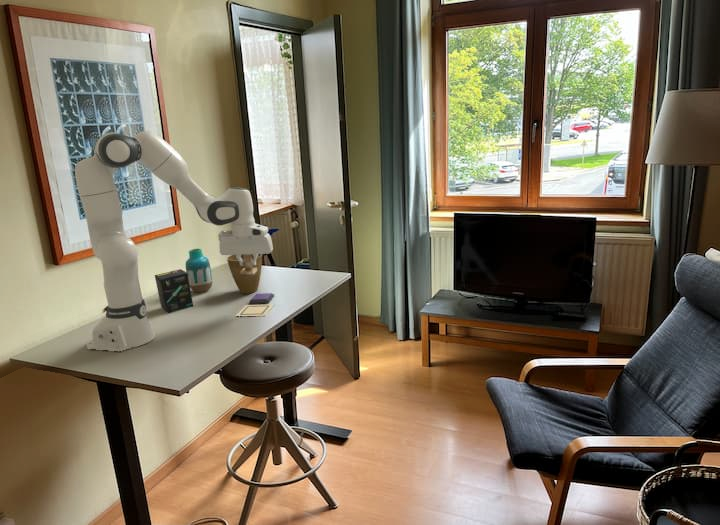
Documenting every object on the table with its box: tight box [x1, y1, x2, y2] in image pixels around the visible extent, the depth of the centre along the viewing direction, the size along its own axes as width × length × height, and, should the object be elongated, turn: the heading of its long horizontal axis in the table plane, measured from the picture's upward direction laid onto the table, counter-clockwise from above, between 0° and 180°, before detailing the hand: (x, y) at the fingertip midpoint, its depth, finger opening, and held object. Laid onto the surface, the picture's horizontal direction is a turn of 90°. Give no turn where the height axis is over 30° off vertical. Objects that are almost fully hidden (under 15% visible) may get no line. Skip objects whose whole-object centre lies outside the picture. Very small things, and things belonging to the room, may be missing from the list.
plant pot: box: [226, 254, 263, 294], centre depth 228 cm, size 15×15×16 cm
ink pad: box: [249, 292, 275, 305], centre depth 216 cm, size 8×8×2 cm
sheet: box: [235, 303, 275, 318], centre depth 205 cm, size 12×12×1 cm
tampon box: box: [154, 268, 194, 314], centre depth 215 cm, size 11×9×15 cm
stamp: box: [240, 254, 258, 276], centre depth 201 cm, size 5×5×9 cm
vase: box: [185, 248, 213, 293], centre depth 233 cm, size 11×11×19 cm
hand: (248, 265), depth 201 cm, fingers closed on stamp, 3 cm apart
